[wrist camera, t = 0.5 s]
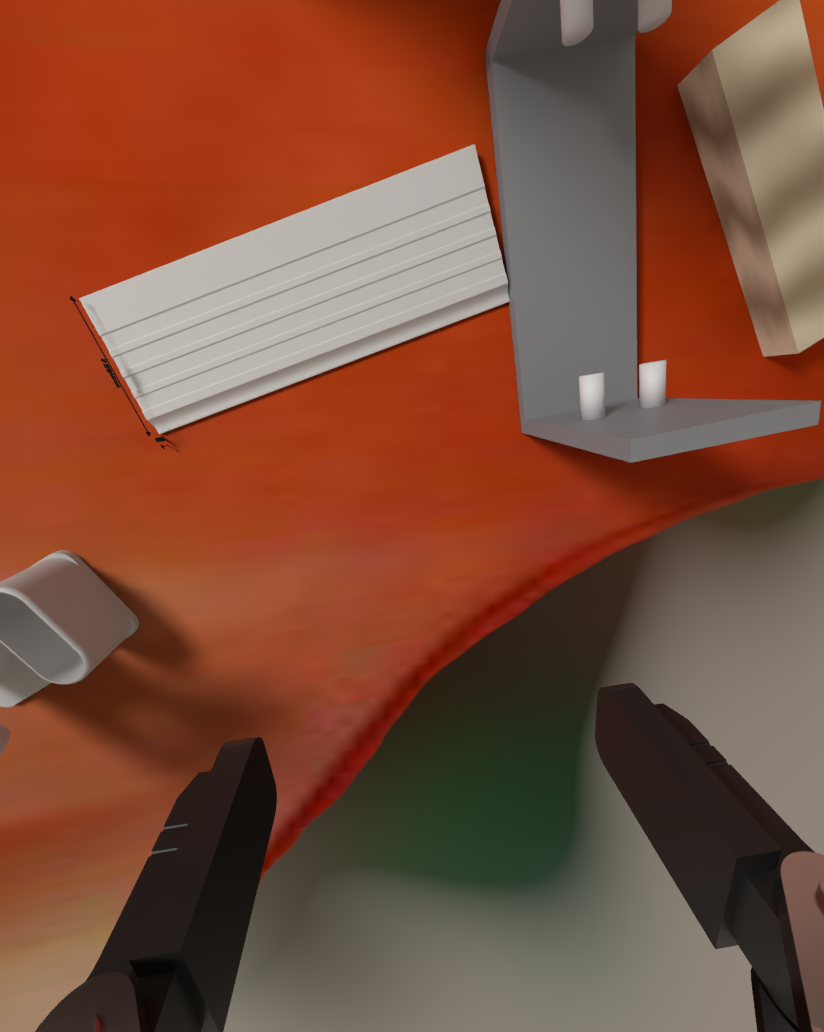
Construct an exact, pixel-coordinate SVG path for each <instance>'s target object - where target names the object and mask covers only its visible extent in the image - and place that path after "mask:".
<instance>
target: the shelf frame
mask: <svg viewBox="0 0 824 1032" xmlns="http://www.w3.org/2000/svg"><path fill="white" fill-rule="evenodd" d="M671 12H672V0H501V1H500V4H499V7H498V11H497V14H496V17H495V20H494V23H493V27H492V30H491V33H490V36H489V40H488V43H487V46H486V49H485V61H486V72H487V82H488V92H489V102H490V113H491V123H492V133H493V143H494V154H495V164H496V174H497V184H498V195H499V205H500V215H501V225H502V236H503V246H504V256H505V266H506V276H507V280H508V295H509V299H510V302H509V307H510V318H511V328H512V338H513V348H514V359H515V369H516V379H517V389H518V400H519V410H520V420H521V430H522V433H524V434H528V435H532V436H535V437H539V438H542V439H546V440H550V441H553V442H557V443H561V444H564V445H568V446H572V447H575V448H579V449H583V450H586V451H590V452H594V453H597V454H601V455H605V456H608V457H612V458H615V459H619V460H623V461H626V462H630V463H632V462H637V461H642V460H647V459H652V458H657V457H662V456H667V455H672V454H677V453H681V452H686V451H691V450H696V449H701V448H706V447H711V446H716V445H721V444H725V443H730V442H735V441H740V440H745V439H750V438H755V437H760V436H765V435H769V434H774V433H779V432H784V431H789V430H794V429H799V428H804V427H809V426H813V425H818V421H819V414H820V406H821V401H802V400H742V399H681V398H666V360H660V361H654V362H648V363H643V364H639V398H637V261H636V93H635V34H636V33H637V31H639V32H640V33H646V32H649V31H652V30H654V29H655V28H657V27H659V26H660V25H661V24H662V23H664V22H665V21H666V20H667V19H668V17H669V16H670V14H671Z"/></svg>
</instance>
